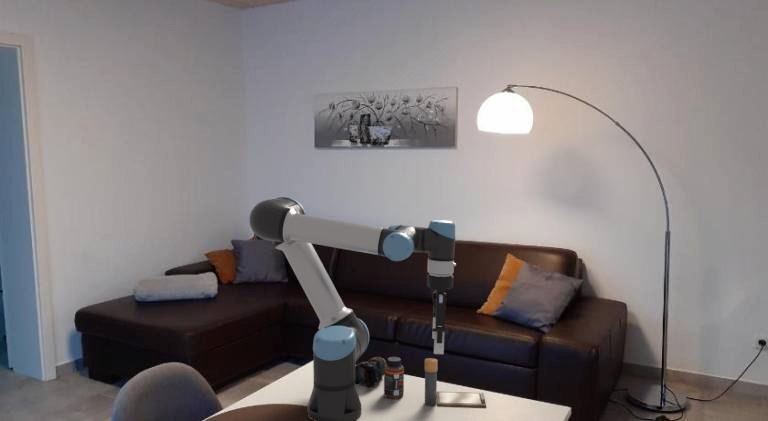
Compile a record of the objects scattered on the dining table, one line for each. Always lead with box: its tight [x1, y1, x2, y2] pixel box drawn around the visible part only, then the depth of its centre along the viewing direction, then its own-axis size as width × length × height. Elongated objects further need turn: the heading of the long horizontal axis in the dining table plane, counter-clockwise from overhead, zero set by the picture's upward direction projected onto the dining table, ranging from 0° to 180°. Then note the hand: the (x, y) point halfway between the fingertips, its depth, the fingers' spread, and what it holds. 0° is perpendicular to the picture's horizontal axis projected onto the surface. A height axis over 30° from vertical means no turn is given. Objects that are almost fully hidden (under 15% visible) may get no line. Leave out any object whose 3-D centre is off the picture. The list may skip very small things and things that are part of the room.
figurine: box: [355, 356, 387, 388], centre depth 185 cm, size 9×8×15 cm
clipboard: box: [436, 390, 487, 408], centre depth 171 cm, size 14×9×2 cm, turn 86°
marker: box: [424, 357, 438, 407], centre depth 168 cm, size 4×4×13 cm
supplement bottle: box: [383, 356, 405, 399], centre depth 174 cm, size 6×6×11 cm
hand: (437, 345), depth 168 cm, fingers open, 13 cm apart
